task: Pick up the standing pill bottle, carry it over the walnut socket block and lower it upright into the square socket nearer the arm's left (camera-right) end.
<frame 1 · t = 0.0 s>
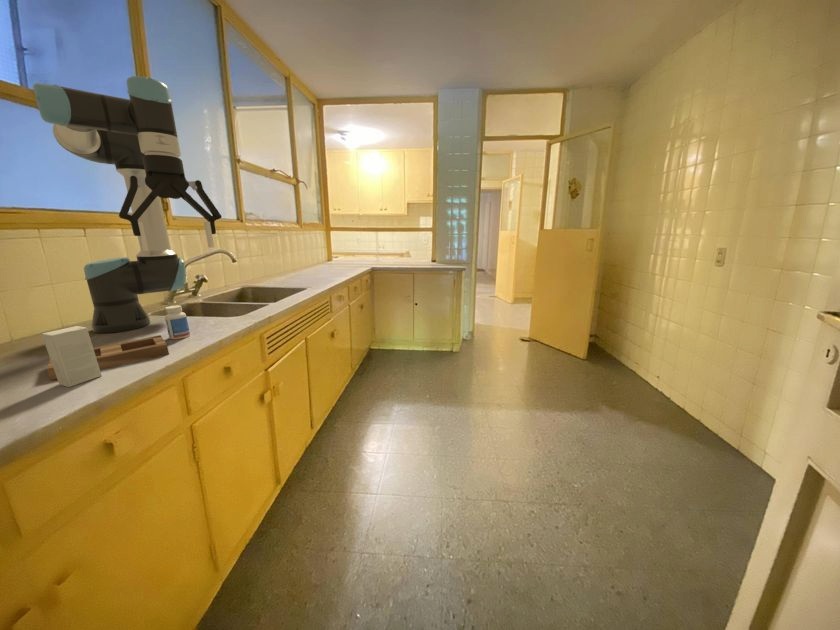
hand: (180, 248, 83), 28 cm above the countertop, fingers open, 13 cm apart
skincare box: (80, 381, 75), on the countertop
pill bottle: (180, 337, 104), on the countertop
socket block: (113, 359, 87), on the countertop
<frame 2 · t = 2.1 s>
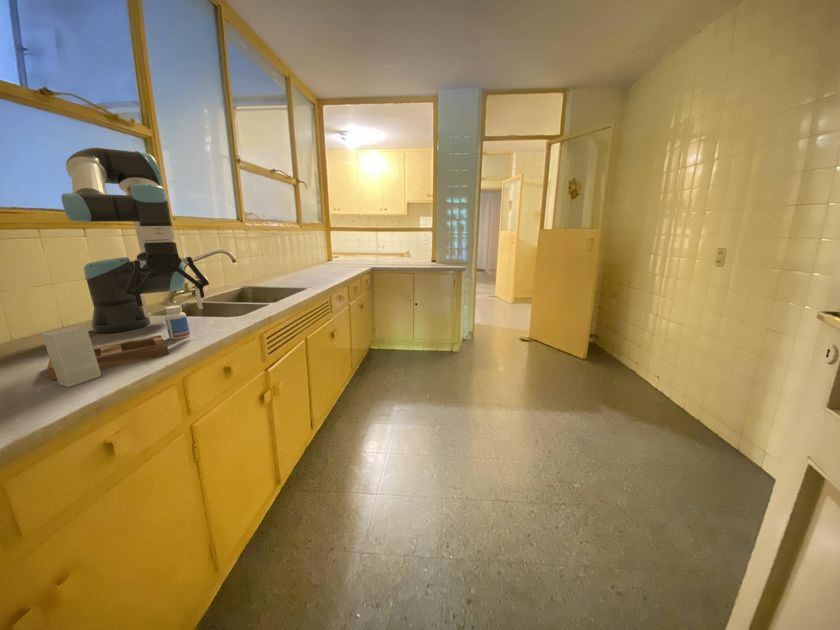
hand: (174, 312, 102), 8 cm above the countertop, fingers open, 13 cm apart
nothing on the countertop moved.
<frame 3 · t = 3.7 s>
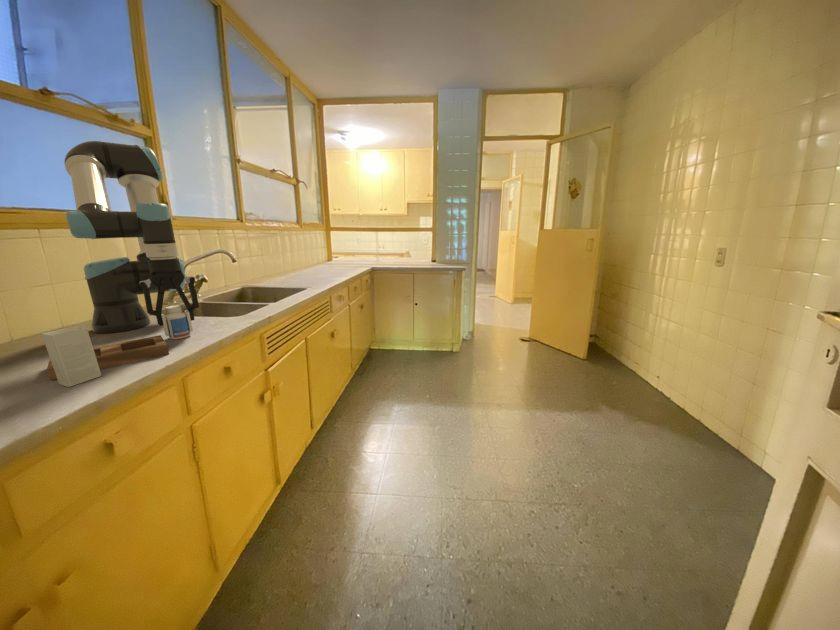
hand: (179, 332, 104), 1 cm above the countertop, fingers closed on pill bottle, 5 cm apart
pill bottle: (180, 337, 104), on the countertop, touching gripper
everything else where it was.
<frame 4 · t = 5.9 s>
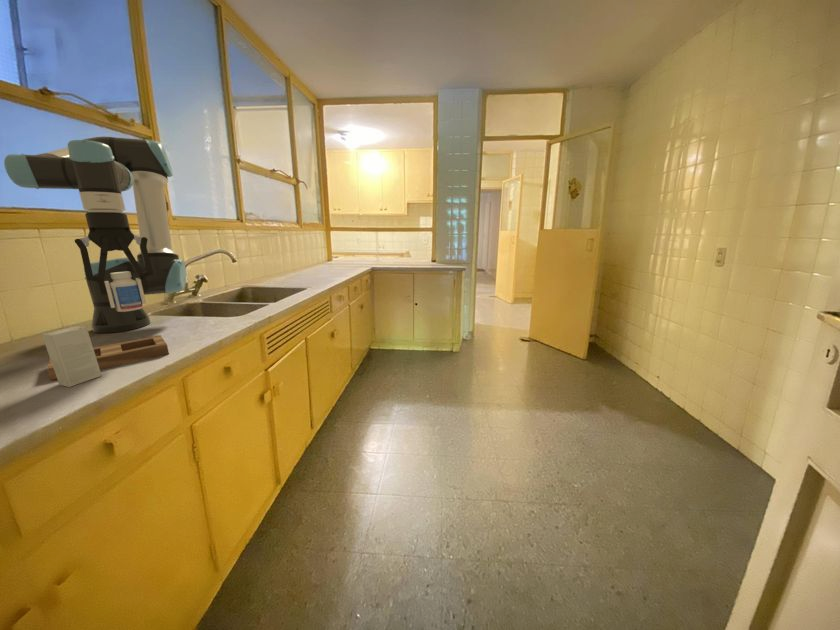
hand: (128, 304, 87), 14 cm above the countertop, fingers closed on pill bottle, 5 cm apart
pill bottle: (130, 310, 87), point 12 cm above the countertop, touching gripper
everything else where it was.
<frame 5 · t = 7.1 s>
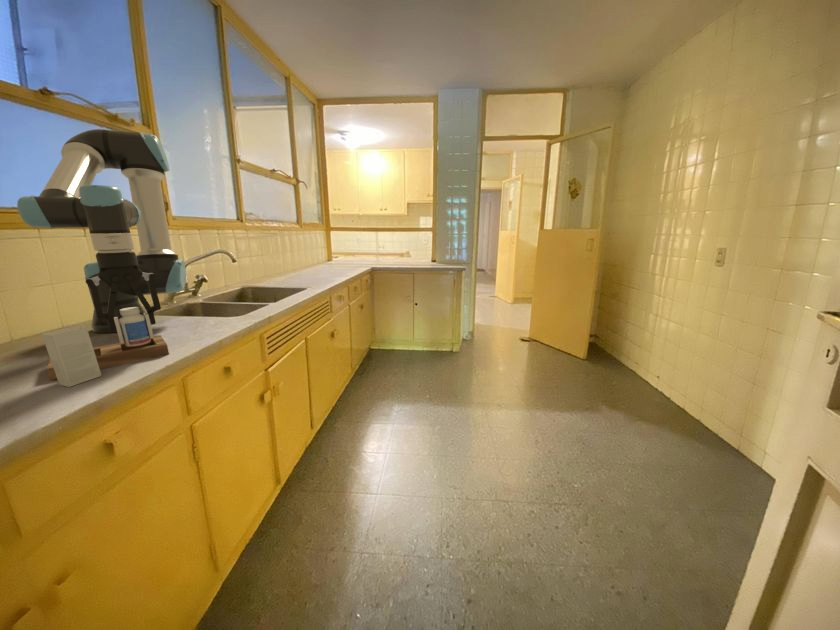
hand: (136, 339, 89), 4 cm above the countertop, fingers closed on pill bottle, 5 cm apart
pill bottle: (138, 344, 89), point 3 cm above the countertop, touching gripper
everything else where it was.
when the fingers open (3 cm above the countertop, at t = 8.0 s): pill bottle drops 2 cm, resting in socket block.
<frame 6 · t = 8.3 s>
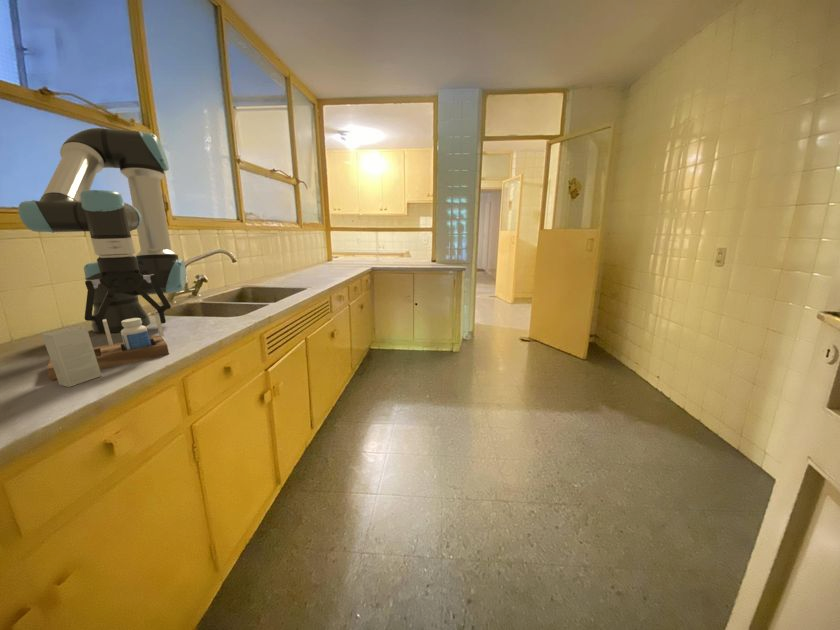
hand: (137, 339, 89), 4 cm above the countertop, fingers open, 10 cm apart
pill bottle: (140, 354, 90), resting in socket block
everything else where it was.
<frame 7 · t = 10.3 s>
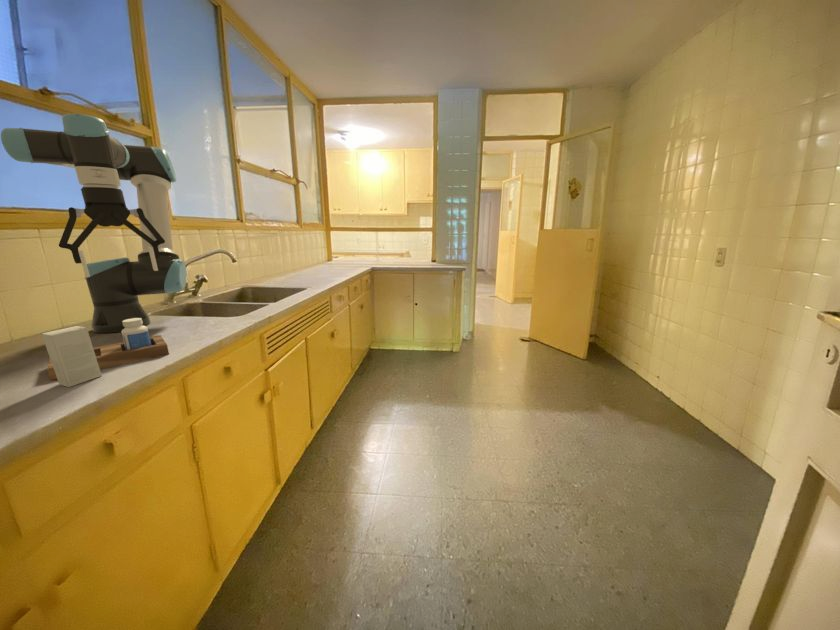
hand: (123, 273, 88), 22 cm above the countertop, fingers open, 13 cm apart
nothing on the countertop moved.
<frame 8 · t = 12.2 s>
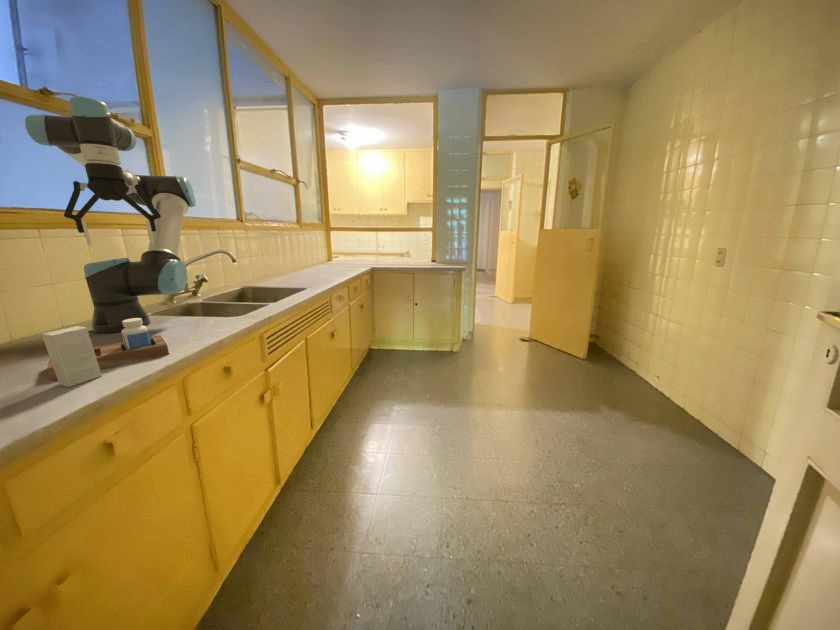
hand: (122, 244, 96), 29 cm above the countertop, fingers open, 13 cm apart
nothing on the countertop moved.
at the end: pill bottle 0.1 cm from the target spot on the socket block, point 0.0 cm above the socket block's base; pill bottle tilted 1°; the gripper is holding nothing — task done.
